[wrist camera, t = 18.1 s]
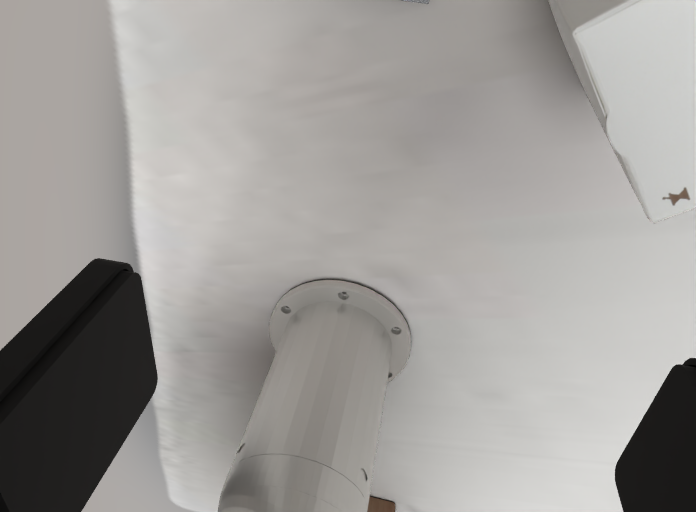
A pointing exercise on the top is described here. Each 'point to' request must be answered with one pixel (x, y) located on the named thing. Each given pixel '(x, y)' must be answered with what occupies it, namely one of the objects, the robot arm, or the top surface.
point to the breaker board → (419, 1)
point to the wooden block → (380, 505)
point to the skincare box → (640, 90)
